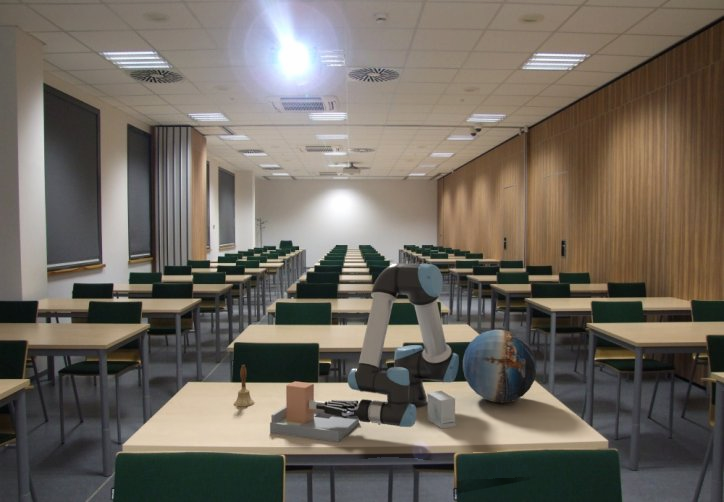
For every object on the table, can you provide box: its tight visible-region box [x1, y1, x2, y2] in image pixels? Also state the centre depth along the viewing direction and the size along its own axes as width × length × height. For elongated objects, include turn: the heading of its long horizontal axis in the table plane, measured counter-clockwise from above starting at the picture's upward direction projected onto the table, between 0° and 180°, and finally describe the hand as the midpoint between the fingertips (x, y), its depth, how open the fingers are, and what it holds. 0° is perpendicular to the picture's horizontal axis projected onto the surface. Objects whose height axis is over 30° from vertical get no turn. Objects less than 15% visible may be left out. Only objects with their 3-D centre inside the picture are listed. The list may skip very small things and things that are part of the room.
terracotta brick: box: [285, 380, 315, 424], centre depth 202 cm, size 8×6×13 cm
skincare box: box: [426, 390, 456, 429], centre depth 204 cm, size 10×6×10 cm, turn 21°
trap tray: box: [269, 405, 360, 443], centre depth 199 cm, size 26×20×6 cm
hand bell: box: [233, 364, 255, 408], centre depth 227 cm, size 8×8×16 cm
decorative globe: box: [462, 329, 537, 404], centre depth 231 cm, size 30×30×30 cm
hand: (309, 404), depth 199 cm, fingers closed
